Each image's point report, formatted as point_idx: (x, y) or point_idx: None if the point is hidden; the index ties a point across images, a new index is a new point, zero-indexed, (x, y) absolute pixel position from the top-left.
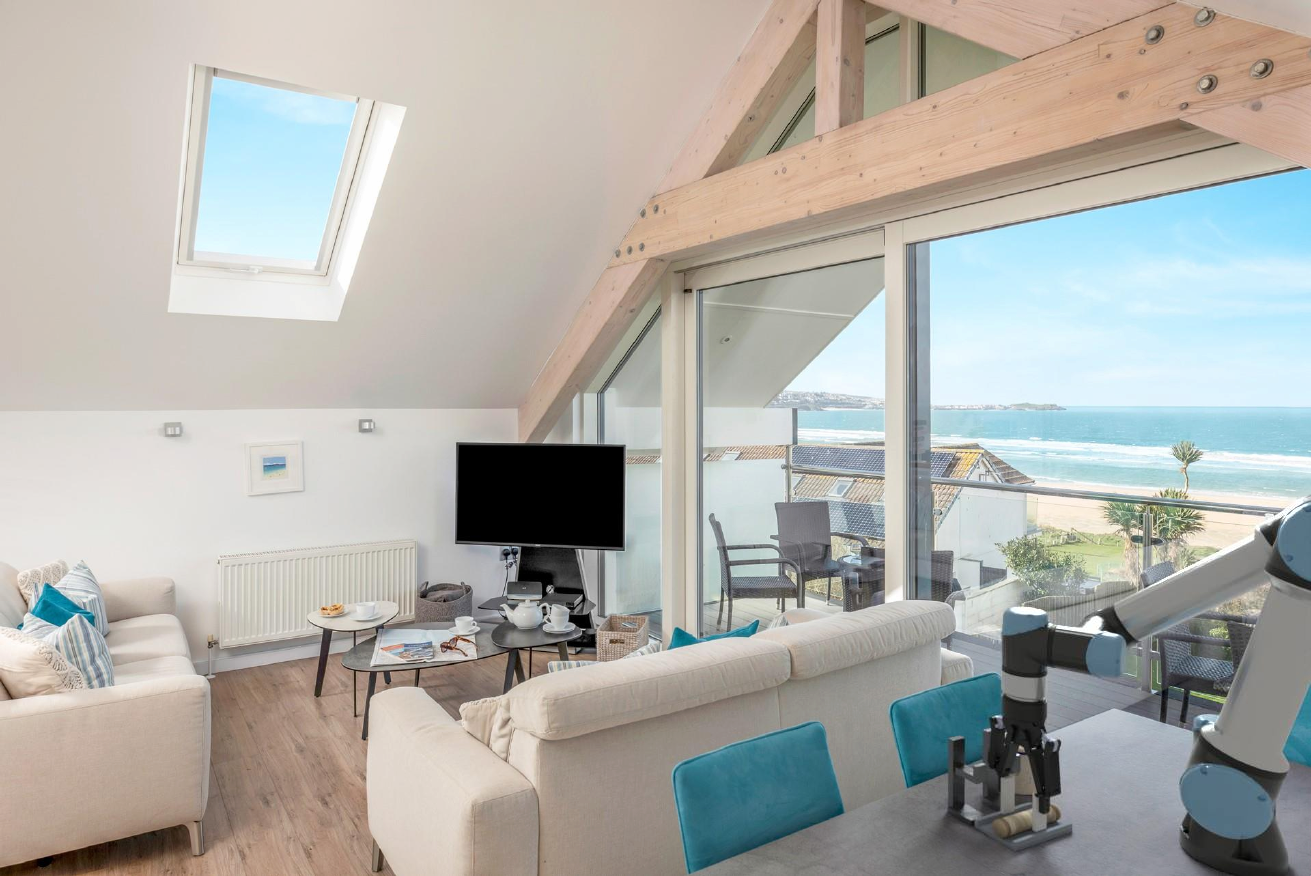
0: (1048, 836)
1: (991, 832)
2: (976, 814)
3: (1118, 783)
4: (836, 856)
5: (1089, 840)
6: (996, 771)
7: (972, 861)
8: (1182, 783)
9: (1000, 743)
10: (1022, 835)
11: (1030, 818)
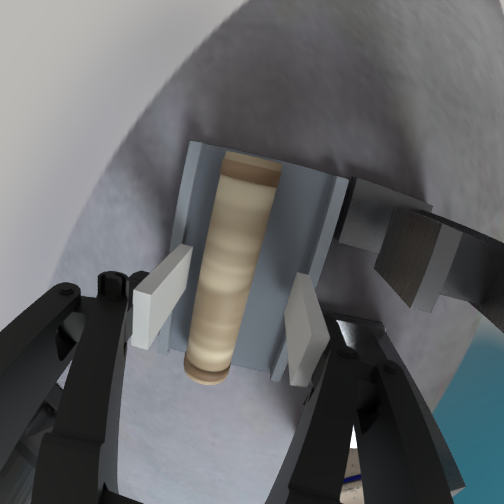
0: None
1: (285, 168)
2: (362, 226)
3: (220, 490)
4: None
5: None
6: (359, 356)
7: (248, 19)
8: None
9: (381, 484)
10: None
11: (204, 273)
